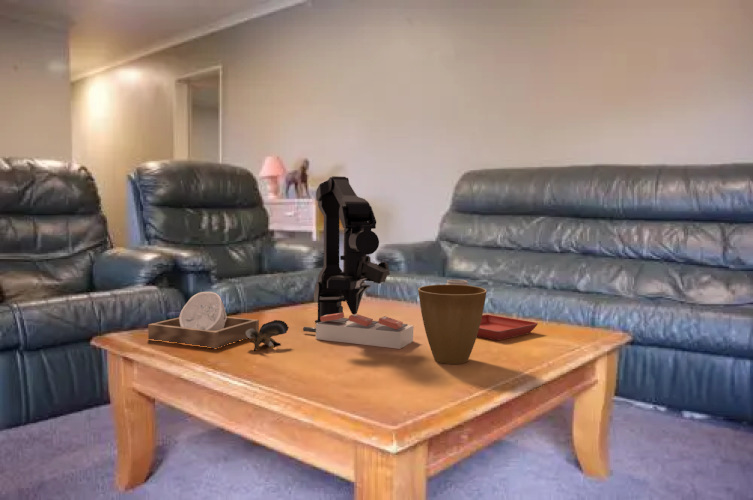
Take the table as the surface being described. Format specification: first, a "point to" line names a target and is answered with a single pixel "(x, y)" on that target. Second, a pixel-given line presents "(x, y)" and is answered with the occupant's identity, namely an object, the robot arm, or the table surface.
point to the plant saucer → (503, 327)
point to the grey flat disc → (203, 312)
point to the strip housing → (363, 333)
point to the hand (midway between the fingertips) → (354, 313)
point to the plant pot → (451, 319)
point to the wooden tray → (202, 332)
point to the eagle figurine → (267, 333)
